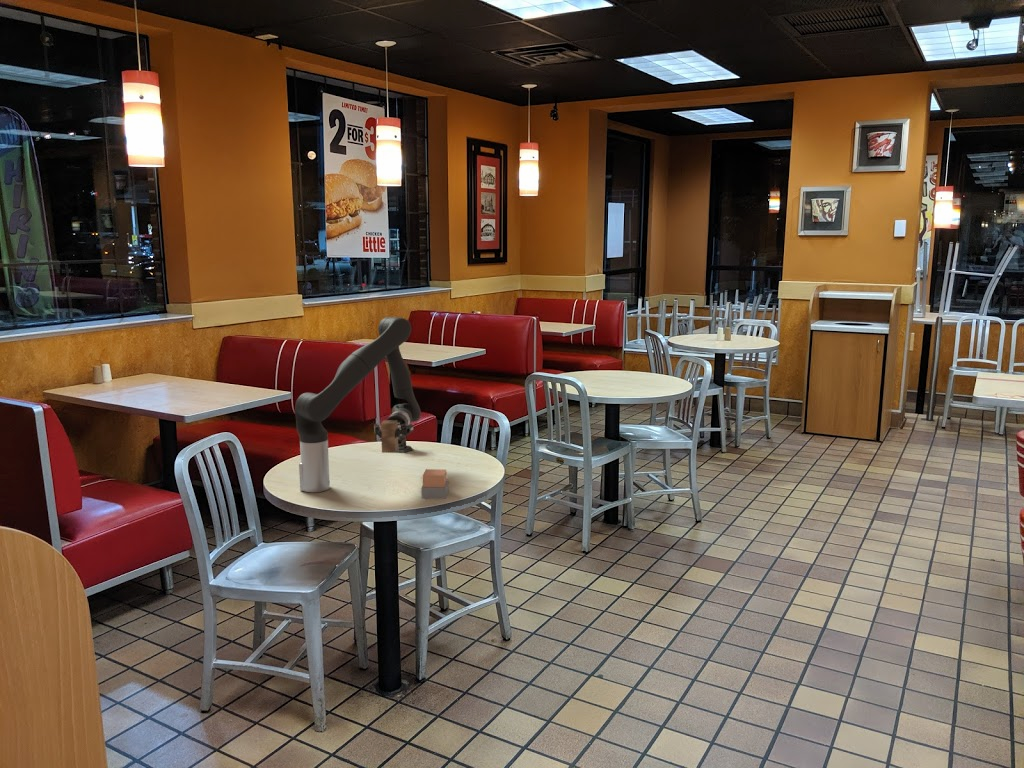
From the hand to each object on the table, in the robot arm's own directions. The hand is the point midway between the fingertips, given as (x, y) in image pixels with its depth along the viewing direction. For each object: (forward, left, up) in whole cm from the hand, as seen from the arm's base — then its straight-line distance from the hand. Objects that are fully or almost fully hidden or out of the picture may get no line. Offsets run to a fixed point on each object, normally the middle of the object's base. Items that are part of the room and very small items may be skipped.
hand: (388, 434), depth 254 cm
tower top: (+15, +2, -17) cm, 23 cm away
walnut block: (0, +3, -6) cm, 7 cm away
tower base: (+15, +2, -21) cm, 26 cm away
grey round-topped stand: (-7, +58, -21) cm, 62 cm away
